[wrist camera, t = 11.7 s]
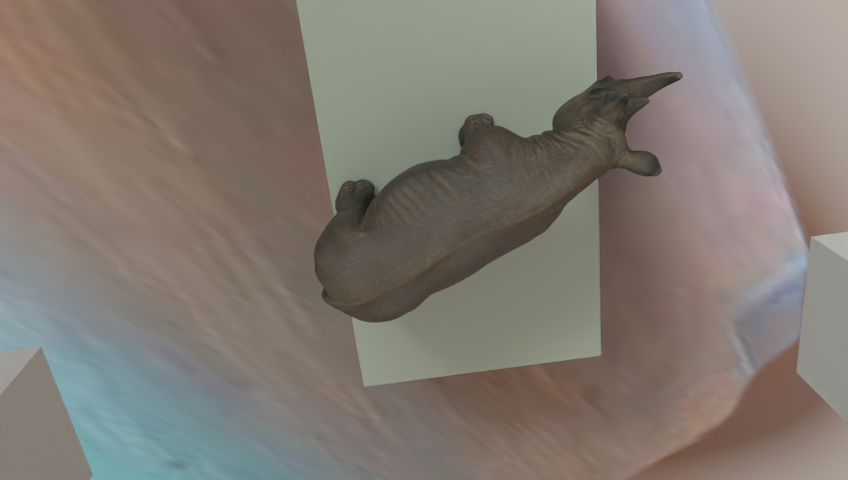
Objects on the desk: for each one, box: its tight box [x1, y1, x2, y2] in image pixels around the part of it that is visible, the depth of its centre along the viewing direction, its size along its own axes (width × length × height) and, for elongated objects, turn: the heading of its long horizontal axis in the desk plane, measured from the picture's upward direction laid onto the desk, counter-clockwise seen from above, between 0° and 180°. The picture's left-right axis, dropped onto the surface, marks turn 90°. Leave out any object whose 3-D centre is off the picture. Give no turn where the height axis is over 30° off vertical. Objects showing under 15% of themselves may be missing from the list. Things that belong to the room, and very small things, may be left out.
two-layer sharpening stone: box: [296, 0, 601, 387], centre depth 28 cm, size 18×10×7 cm, turn 6°
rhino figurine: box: [314, 72, 682, 323], centre depth 22 cm, size 4×14×6 cm, turn 120°
